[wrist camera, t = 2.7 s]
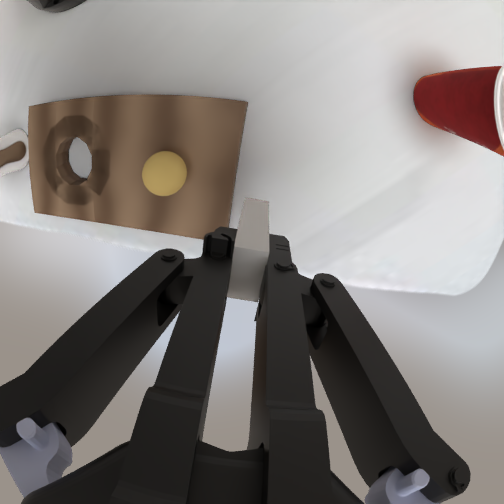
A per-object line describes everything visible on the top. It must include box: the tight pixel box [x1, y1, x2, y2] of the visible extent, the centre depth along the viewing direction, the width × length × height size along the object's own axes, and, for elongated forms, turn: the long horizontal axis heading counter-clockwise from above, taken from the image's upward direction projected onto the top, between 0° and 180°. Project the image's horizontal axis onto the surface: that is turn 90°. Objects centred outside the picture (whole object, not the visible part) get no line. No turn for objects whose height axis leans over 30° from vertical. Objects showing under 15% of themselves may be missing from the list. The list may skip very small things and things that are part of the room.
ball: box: [142, 151, 187, 196], centre depth 22 cm, size 4×4×4 cm
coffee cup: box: [414, 65, 504, 156], centre depth 14 cm, size 8×8×15 cm
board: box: [28, 95, 248, 239], centre depth 25 cm, size 26×14×2 cm, turn 81°
